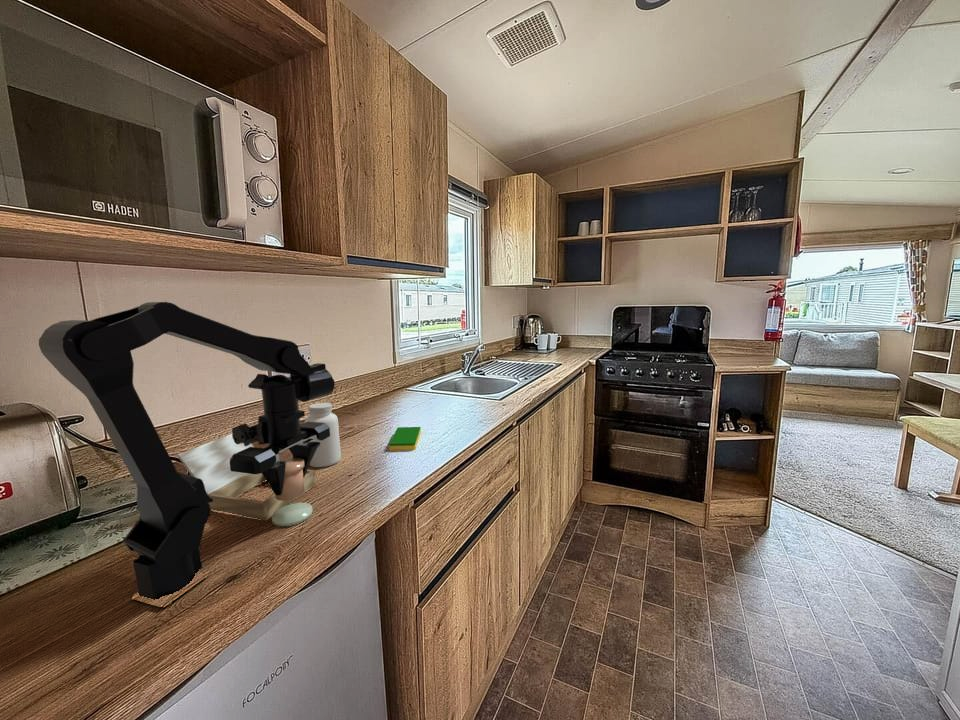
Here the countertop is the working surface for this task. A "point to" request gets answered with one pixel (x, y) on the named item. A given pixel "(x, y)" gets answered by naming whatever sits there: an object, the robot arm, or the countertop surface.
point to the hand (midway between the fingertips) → (289, 487)
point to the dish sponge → (405, 438)
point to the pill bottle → (330, 446)
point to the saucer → (292, 514)
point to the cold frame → (232, 479)
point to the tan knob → (292, 479)
